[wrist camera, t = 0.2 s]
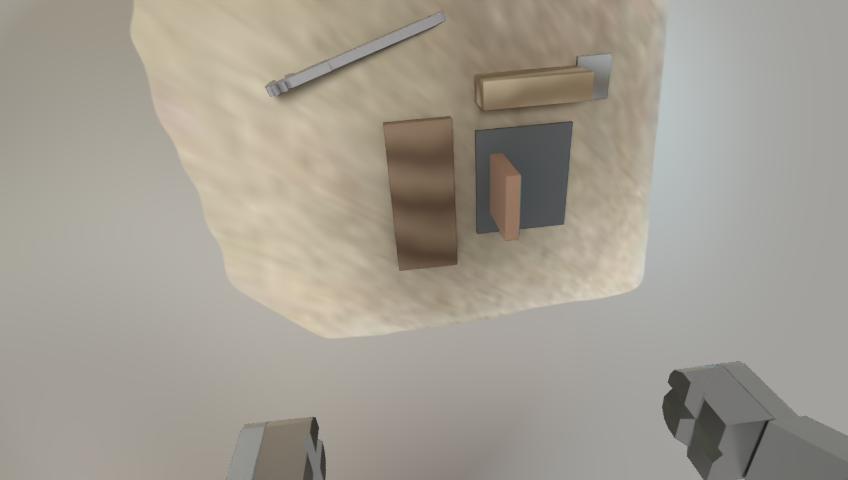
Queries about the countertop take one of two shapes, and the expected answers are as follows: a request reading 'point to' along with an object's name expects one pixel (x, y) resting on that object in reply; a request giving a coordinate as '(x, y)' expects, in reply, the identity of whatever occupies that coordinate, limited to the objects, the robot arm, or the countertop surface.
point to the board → (422, 191)
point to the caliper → (352, 55)
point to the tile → (505, 196)
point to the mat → (526, 171)
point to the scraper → (545, 84)
